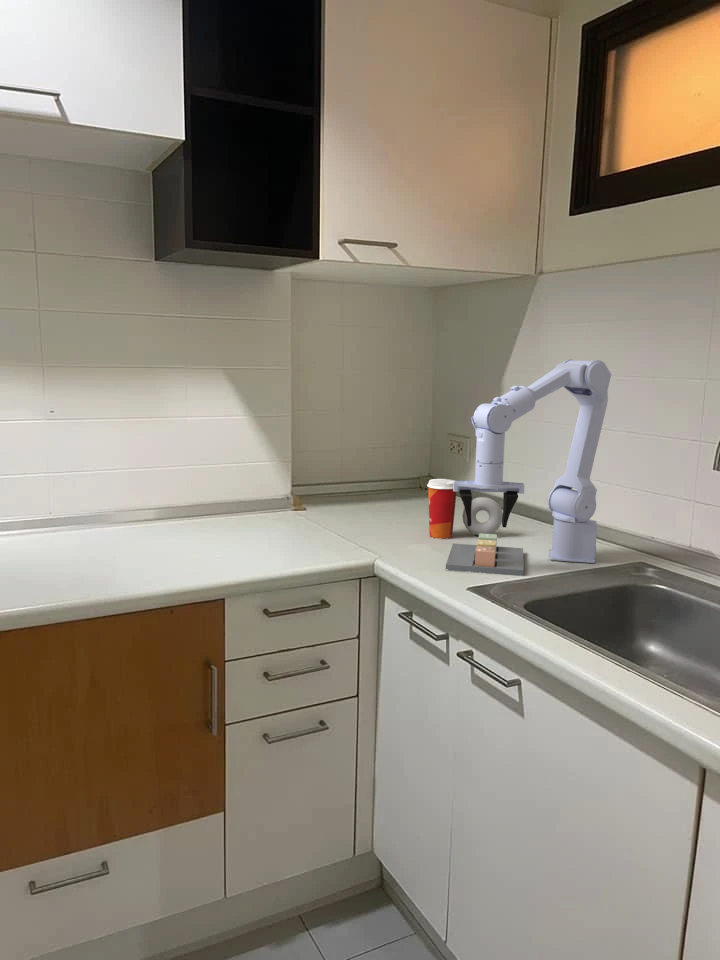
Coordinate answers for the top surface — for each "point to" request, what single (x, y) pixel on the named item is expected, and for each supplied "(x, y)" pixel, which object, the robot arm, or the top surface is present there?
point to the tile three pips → (485, 556)
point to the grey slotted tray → (506, 564)
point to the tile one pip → (488, 537)
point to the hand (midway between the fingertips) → (486, 525)
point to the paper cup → (441, 508)
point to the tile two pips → (487, 544)
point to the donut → (492, 522)
